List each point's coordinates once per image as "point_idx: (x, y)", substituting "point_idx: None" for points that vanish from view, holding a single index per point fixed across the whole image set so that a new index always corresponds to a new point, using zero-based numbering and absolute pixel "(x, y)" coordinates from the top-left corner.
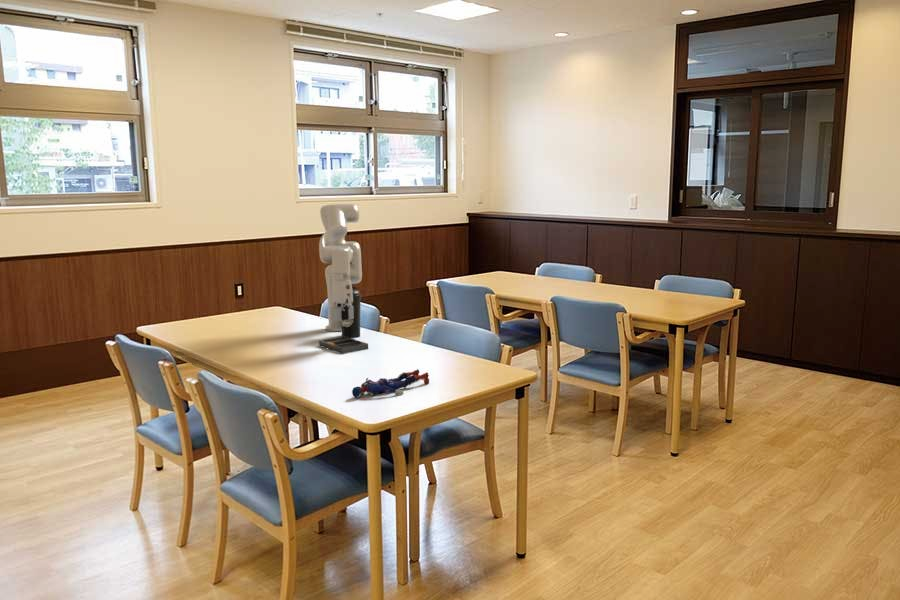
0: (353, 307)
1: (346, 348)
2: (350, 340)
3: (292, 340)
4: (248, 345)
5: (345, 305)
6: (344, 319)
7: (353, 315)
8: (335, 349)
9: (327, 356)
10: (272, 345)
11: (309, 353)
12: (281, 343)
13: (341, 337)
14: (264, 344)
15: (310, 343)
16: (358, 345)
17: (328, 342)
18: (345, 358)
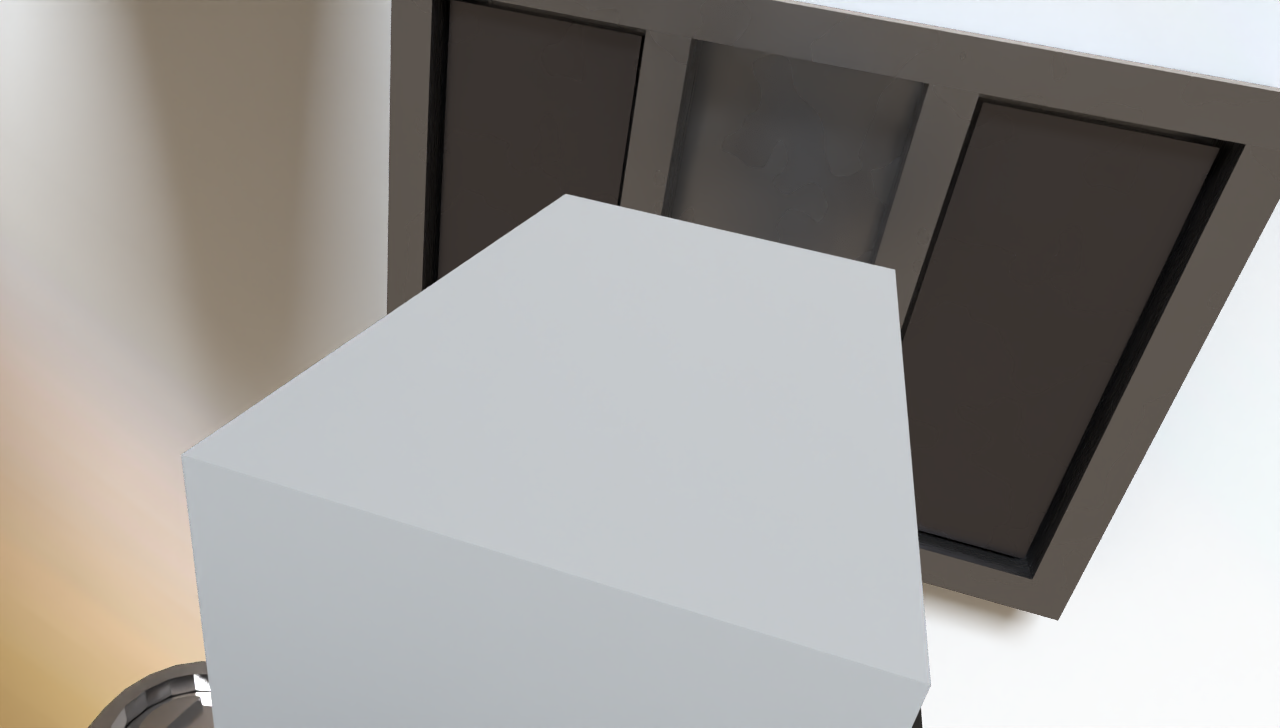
0: (917, 578)
1: (1087, 552)
2: (694, 40)
3: (7, 366)
4: (11, 691)
5: (223, 724)
6: None
7: (895, 329)
8: None
9: (940, 722)
10: (112, 612)
11: None
12: (79, 519)
13: (433, 31)
14: (40, 615)
15: (251, 360)
16: (1205, 339)
17: None
18: (1254, 715)
